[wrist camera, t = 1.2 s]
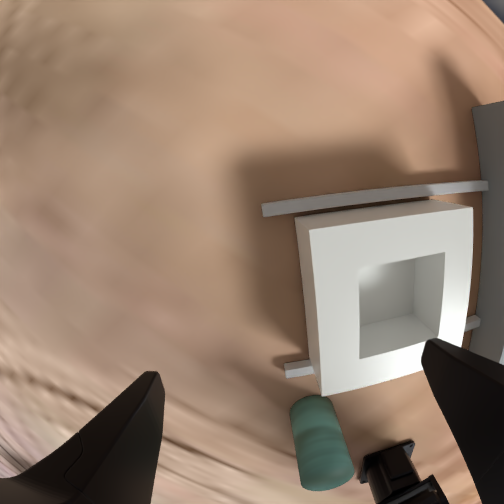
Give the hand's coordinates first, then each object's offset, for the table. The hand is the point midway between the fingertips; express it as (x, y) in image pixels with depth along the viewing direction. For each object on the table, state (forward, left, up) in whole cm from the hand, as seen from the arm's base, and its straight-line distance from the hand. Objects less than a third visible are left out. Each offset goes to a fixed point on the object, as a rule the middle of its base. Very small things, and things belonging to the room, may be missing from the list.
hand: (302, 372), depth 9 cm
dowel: (-15, -2, -13) cm, 19 cm away
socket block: (-3, -7, -12) cm, 15 cm away
